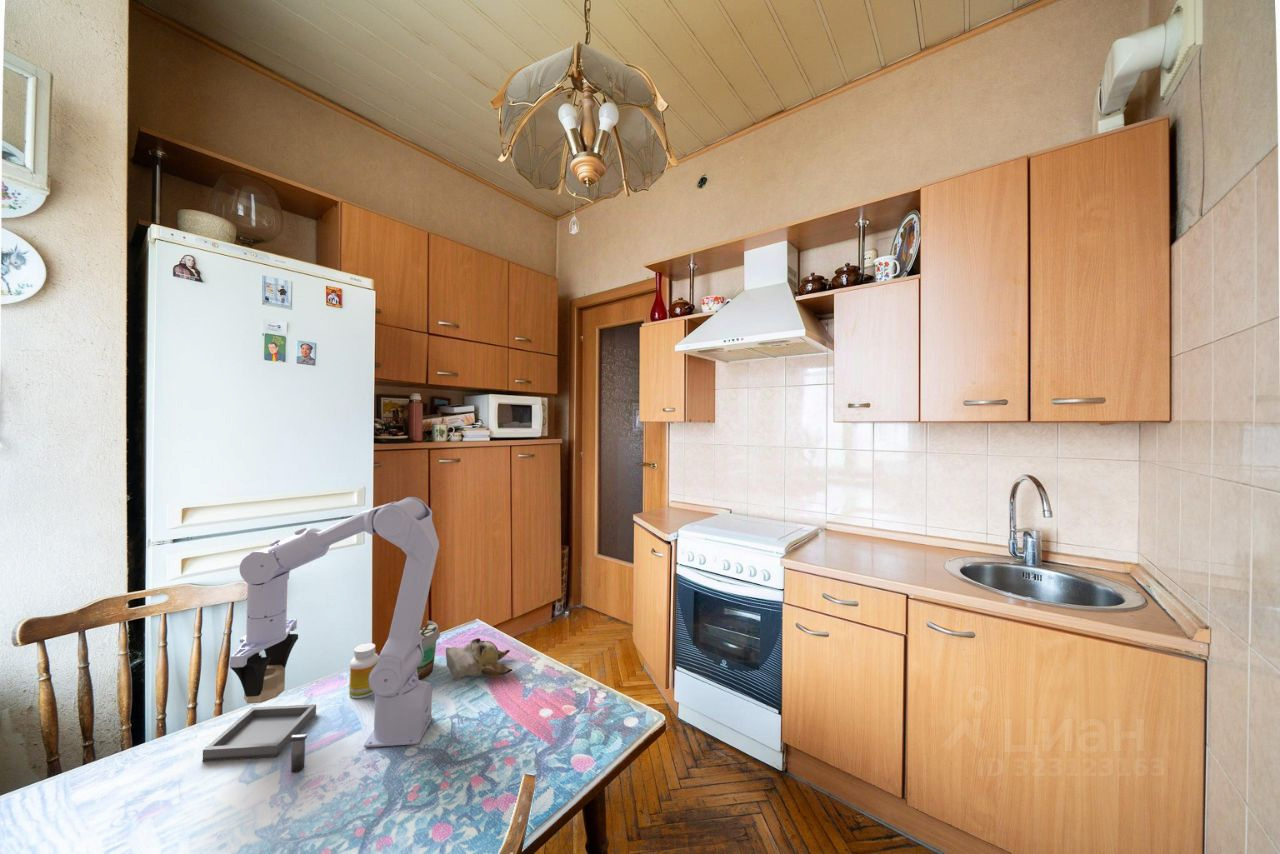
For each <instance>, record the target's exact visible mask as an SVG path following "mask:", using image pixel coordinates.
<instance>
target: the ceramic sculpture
mask: <svg viewBox="0 0 1280 854" xmlns="http://www.w3.org/2000/svg"><path fill="white" fill-rule="evenodd" d="M510 651H511V650H510V649H506V650H503V651H502V650H499V648H498V647H497V645H496V644H495V643H494V642H492V641H490V640H487V641H485V640H481V638H480V637H479V638H478V637H477V638H474V639H472V640H470V641H469V642H468V644H467V645H466V646H464V647H456V646H452V647H446V648H445V659H446V666H447V667H448V670H449V673H450V676H451V677H452V679H454V681H458V680H460V679H461V678H463V676H475V677H479V676H480V677H481V676H486V677H492V678H498V677H501V676H504V675H507V674H510V673H511V672H513V668H509V667H508V666H506V665H505V664H503V663H500V662H498V661H500V660H502V659H503V658H504V657H506V655H508V654H509V653H510Z"/></svg>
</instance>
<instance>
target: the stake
mask: <svg viewBox="0 0 1280 854" xmlns="http://www.w3.org/2000/svg"><path fill="white" fill-rule="evenodd" d="M307 735H308V734H307V733H306V734H305V733H304V734H297V735H292V736H291V737H290V741H291V752H290V753H291V755H290V757H291V758H290V759H291V760H290V773H292V774H296V773H299V772H301V771H303V770H304V768H305V756H306V753H305V752H306V751H305V750H306V739H307V738H308V736H307Z"/></svg>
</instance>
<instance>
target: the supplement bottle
mask: <svg viewBox="0 0 1280 854" xmlns="http://www.w3.org/2000/svg"><path fill="white" fill-rule="evenodd" d="M379 656H380V655H379V654H378V653H376V644H375V643H370V642H369V643H368V642H367V643H362V644H358V646H357V645H356V647H355V648H354V650H353V658H352V659H351V660H350V662H349V663H350V664H349V679H348V680H349V683H348V684H349V685H348V687H349V688H348V689H349V690H348V693H349V694H348V695H349V697H351V698H353V699H364V698H366V697H367V698H368V697H369V696H372V695H373V694H375V693H374V692H373V691H372V690H371V688H370V686H369V675H370V672H371V671H372V669H373V668H374V667H375V666H376V664H377V663H378V660H379Z"/></svg>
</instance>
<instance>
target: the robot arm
mask: <svg viewBox="0 0 1280 854" xmlns="http://www.w3.org/2000/svg"><path fill="white" fill-rule="evenodd" d="M362 532H365V533H367V534H370V535H372V536H374V535H375V534H378V535H379V536H380V537H381V538H383V539H384V540H386V541H387V542H389V543H391V544H393V545H395V546H396V547H398V548H399V549H400V550H401V551H402V552H403V553H405V555H406V560H405V563H404V568H403V573H402V577H401V581H400V586H399V590H398V594H397V598H396V603H395V607H394V612H393V617H392V621H391V625H390V630H389V634H388V638H387V639H386V642H385V643H384V646H383V648H382V649H381V651H380V653H379V655H378V656H379V660H378V663H377V664H376V666H375V667H374V668H373V669H372V671H371V672H370V675H369V686H370V688H371V690H372V691H373V692H374V693H373V694H374V714H373V715H374V716H373V717H374V718H373V720H374V721H373V725H374V726H373V730H372V732H371V734H370V735H369V737H367V739H366V741H365V742H364V744H363V747H364V748H373V747H391V746H392V747H394V746H407V745H408V746H409V745H418V744H419V743H420V742H421V740H422V738H423V736H424V734H425V732H426V730H427V728H428V726H429V724H430V722H431V721H432V719H433V714H432V703H433V702H432V701H433V686H432V683H431V682H426V681H423V680H418V674H417V667H418V666H419V665H420V664H421V662H422V660H423V655H424V653H423V649H422V638H423V636H422V635H421V634H419V633H420V629H421V628H422V623H423V619H424V614H425V611H426V610H425V609H426V606H427V602H428V601H427V600H428V596H429V592H430V587H431V585H432V584H431V583H432V579H433V576H434V570H435V566H436V562H437V558H438V554H439V553H438V552H439V549H440V542H439V538H438V535H437V532H436V529H435V525H434V521H433V511H432V509H431V508H430V507H429V506H428V505H427V504H426V503H425V502H424V501H423V500H422V499H420V498H419V497H415V496H408V497H405V498H403V499H401V500H400V501H391V502H389V503H385V504H383V505H378V506H375V507H372V508H369V509H366V510H363V511H360V512H359V513H357V514H355V515H353V516H351V517H348V518H347V519H344V520H342V521H339V522H338V523H336V524H334V525H331V526H330V527H328V528H326V529H325V528H324V529H318V528H314V527H310V528H308V529H307V528H306V527H303V528H300V529H298V530H296V531H294V535H292V536H290V537H288V538H285V539H283V540H280V539H277V540H274V541H273V542H270V544H269V545H270V546H268V547H266V548H261V550H260V549H259V550H257V551H256V550H255V551H252V552H250V553H249V554H248V555H246V556H245V557H244V558H243V559H242V560H241V561H240V562H241V563H240V564H239V574H240V576H241V579H243V580H244V581H245V582H246V583H247V590H246V591H247V595H246V597H247V598H246V599H247V600H246V630H245V631H246V633H245V635H243V636H242V637H240V638H239V643H240V644H241V645H240V646H239V648H238V649H237V650H236V651H235V653H233V654H232V655H230V661H229V668H230V669H231V670H232V671H233V672H234V673H235V674H236V676H237V677H238V679H239V681H240V683H241V686H242V688H243V691H244V692H245V695H246V697H253V696H259V695H260V694H261V692H262V688H263V682H264V675H265V671H266V668H267V666H268V665H282V666H283V667H284V668H285V669H286V667H287V664H288V663H287V662H288V660H289V657H290V654H291V652H292V650H293V648H294V646H295V644H296V642H297V641H298V640H299V634H298V633H290V632H294V631H295V630H297V627H298V626H297V625H298V624H297V623H298V621H297V620H298V619H297V618H296V619H293V618H291V619H289V618H287V611H288V608H287V607H288V606H287V605H288V583H289V581H288V580H289V579H290V578H289V577H290V572H291V571H292V570H295V569H298V568H299V567H301V566H304V565H306V564H308V563H311V562H313V561H316V560H317V559H320V558H322V557H324V556H326V555H327V554H328V551H329V548H330V546H332V545H334V544H336V543H339V542H341V541H344V540H346V539H348V538H350V537H352V536H355V535H358V534H360V533H362ZM262 651H264V653H265V656H262V655H261V654H260V653H261V652H262Z"/></svg>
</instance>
